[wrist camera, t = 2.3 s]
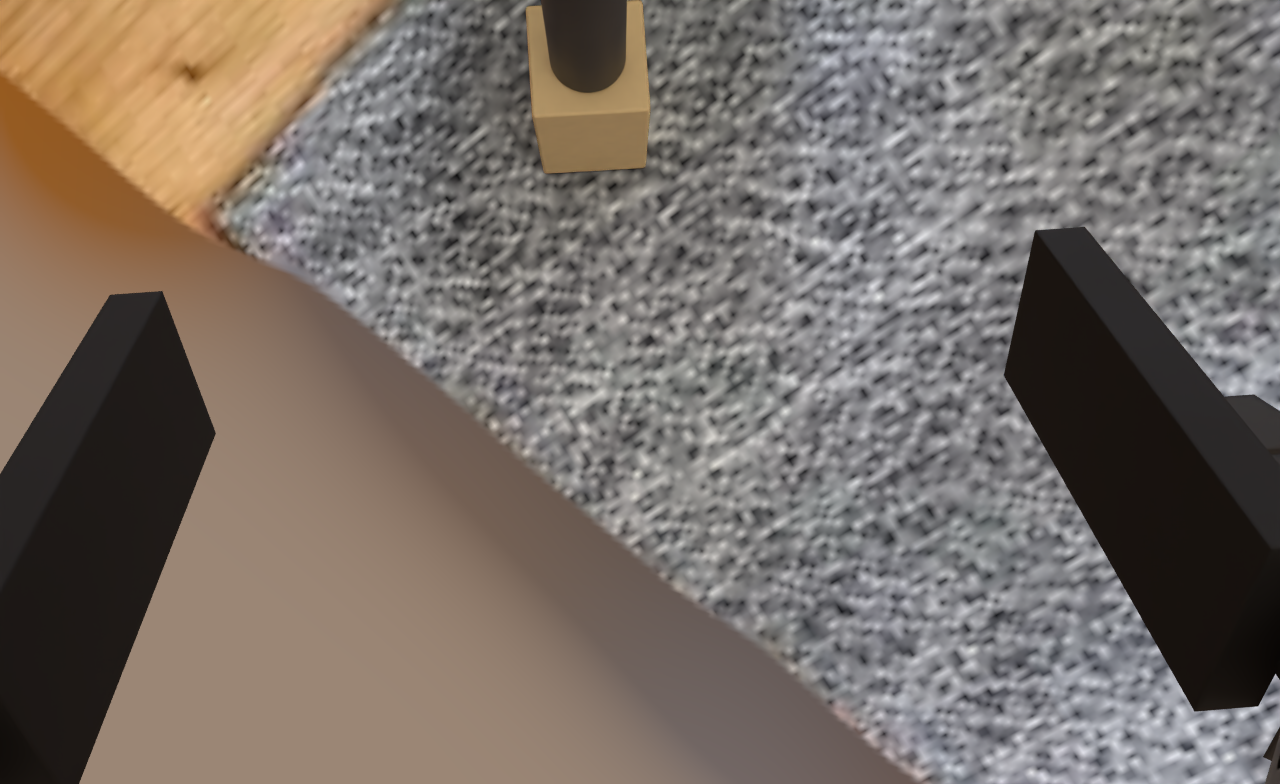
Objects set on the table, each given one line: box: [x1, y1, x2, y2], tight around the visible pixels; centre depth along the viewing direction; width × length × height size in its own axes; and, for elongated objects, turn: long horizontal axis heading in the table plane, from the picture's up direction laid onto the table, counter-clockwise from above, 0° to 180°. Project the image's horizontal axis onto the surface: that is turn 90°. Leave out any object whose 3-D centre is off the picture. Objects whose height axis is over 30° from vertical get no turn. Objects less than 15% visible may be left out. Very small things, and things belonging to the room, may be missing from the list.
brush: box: [526, 0, 650, 174], centre depth 27 cm, size 3×3×16 cm
